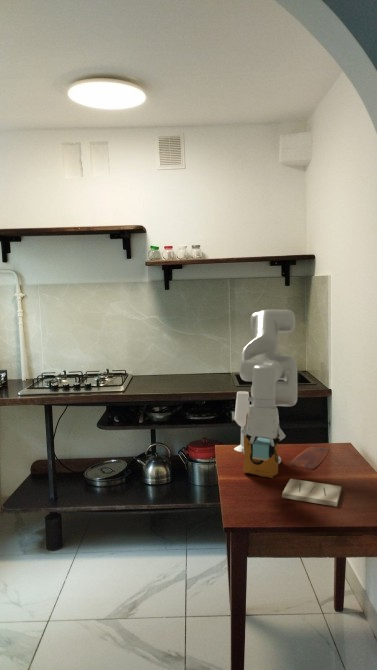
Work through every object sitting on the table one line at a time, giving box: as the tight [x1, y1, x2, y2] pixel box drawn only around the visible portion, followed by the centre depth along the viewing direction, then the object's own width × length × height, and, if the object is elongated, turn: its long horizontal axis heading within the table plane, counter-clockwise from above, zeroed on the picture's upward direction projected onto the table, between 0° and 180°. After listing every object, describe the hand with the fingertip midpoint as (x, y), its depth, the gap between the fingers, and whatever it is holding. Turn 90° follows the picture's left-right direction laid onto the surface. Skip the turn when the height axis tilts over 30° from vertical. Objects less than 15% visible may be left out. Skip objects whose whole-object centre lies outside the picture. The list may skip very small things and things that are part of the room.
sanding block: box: [253, 437, 270, 461], centre depth 168 cm, size 5×7×5 cm
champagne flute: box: [233, 390, 251, 453], centre depth 208 cm, size 7×7×24 cm
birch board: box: [281, 478, 342, 508], centre depth 165 cm, size 17×13×2 cm
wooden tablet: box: [289, 446, 330, 470], centre depth 200 cm, size 27×10×2 cm, turn 150°
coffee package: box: [243, 413, 279, 479], centre depth 182 cm, size 10×12×22 cm
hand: (262, 454), depth 168 cm, fingers closed on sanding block, 5 cm apart
